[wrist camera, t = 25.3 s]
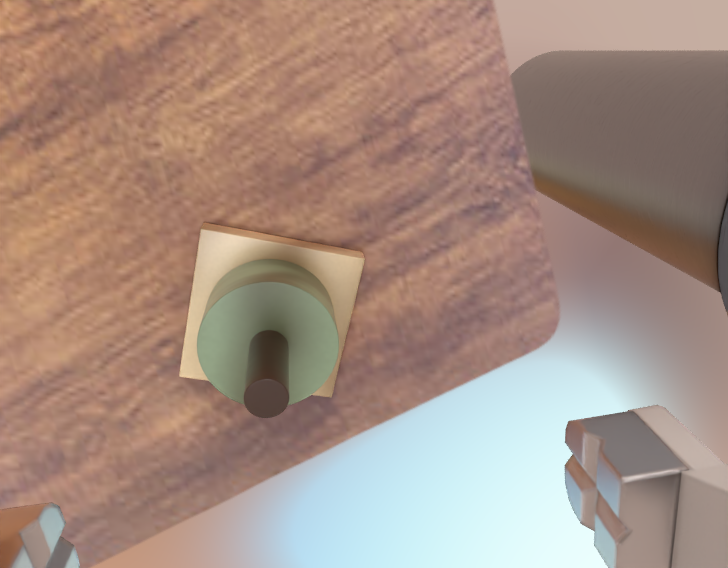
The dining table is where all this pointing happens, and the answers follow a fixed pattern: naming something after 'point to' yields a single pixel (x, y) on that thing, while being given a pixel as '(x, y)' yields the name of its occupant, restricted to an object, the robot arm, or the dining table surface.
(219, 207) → the dining table surface
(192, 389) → the dining table surface
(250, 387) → the ring stand
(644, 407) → the robot arm
